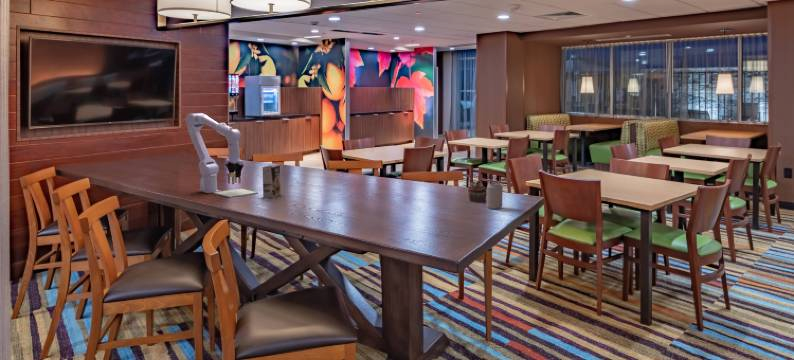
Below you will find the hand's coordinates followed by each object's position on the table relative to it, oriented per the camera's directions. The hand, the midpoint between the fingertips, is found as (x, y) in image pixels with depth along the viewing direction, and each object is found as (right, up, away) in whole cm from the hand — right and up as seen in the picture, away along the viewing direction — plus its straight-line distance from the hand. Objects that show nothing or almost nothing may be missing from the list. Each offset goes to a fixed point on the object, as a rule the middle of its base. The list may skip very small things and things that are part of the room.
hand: (235, 176), depth 304 cm
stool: (0, -4, 0) cm, 4 cm away
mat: (0, -9, +1) cm, 9 cm away
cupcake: (+129, -13, -18) cm, 131 cm away
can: (+135, -15, -35) cm, 140 cm away
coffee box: (+21, -11, -6) cm, 25 cm away
